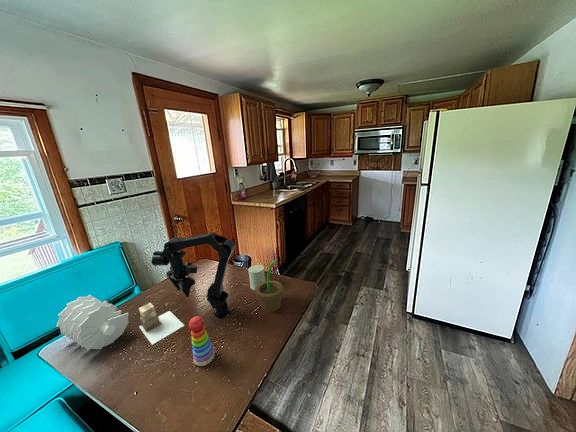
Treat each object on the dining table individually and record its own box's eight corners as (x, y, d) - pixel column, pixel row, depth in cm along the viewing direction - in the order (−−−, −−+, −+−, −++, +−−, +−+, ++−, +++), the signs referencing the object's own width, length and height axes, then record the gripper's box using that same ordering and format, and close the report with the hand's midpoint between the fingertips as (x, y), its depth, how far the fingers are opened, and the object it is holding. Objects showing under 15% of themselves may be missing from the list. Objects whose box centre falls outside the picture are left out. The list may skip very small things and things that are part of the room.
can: (247, 289, 133) (245, 271, 129) (254, 281, 141) (252, 263, 138) (262, 291, 130) (260, 272, 127) (268, 282, 138) (266, 264, 135)
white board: (184, 326, 107) (184, 325, 107) (152, 345, 97) (151, 344, 97) (169, 311, 118) (169, 310, 118) (139, 327, 108) (139, 326, 108)
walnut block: (160, 324, 108) (158, 315, 107) (146, 332, 104) (143, 323, 103) (155, 319, 112) (153, 310, 111) (142, 326, 108) (139, 317, 107)
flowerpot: (286, 312, 112) (282, 256, 103) (257, 317, 110) (250, 260, 102) (282, 295, 125) (278, 244, 117) (256, 299, 123) (250, 247, 115)
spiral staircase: (105, 360, 96) (74, 341, 106) (139, 320, 108) (108, 306, 118) (70, 343, 84) (39, 323, 94) (112, 300, 96) (80, 286, 106)
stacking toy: (208, 346, 95) (200, 307, 90) (219, 356, 90) (211, 315, 85) (189, 360, 89) (180, 319, 84) (200, 371, 84) (191, 329, 79)
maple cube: (144, 322, 104) (142, 312, 102) (141, 317, 107) (138, 308, 105) (156, 315, 107) (154, 306, 106) (152, 311, 110) (150, 302, 109)
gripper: (203, 263, 107) (208, 292, 111) (185, 253, 119) (190, 280, 124) (179, 273, 99) (186, 303, 104) (162, 261, 112) (169, 289, 116)
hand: (183, 293), depth 112 cm, fingers open, 9 cm apart
